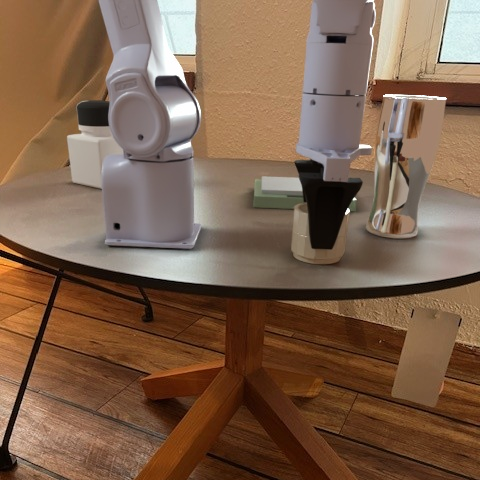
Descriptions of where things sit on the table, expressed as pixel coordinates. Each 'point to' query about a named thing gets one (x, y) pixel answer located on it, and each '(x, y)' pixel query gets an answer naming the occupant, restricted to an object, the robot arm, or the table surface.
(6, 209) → the table surface
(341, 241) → the cup
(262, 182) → the scale
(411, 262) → the table surface
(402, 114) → the beer glass
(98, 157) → the medicine bottle
